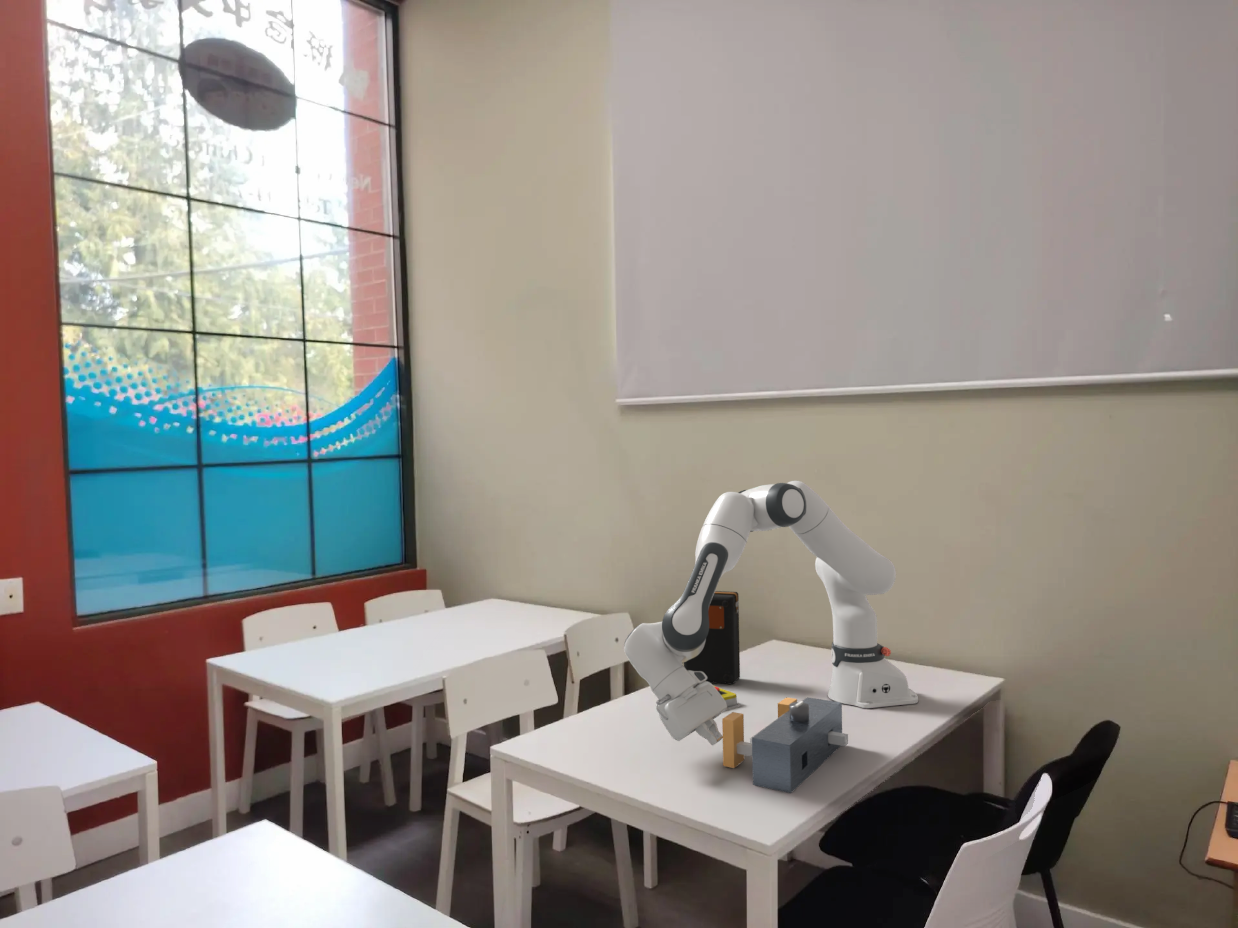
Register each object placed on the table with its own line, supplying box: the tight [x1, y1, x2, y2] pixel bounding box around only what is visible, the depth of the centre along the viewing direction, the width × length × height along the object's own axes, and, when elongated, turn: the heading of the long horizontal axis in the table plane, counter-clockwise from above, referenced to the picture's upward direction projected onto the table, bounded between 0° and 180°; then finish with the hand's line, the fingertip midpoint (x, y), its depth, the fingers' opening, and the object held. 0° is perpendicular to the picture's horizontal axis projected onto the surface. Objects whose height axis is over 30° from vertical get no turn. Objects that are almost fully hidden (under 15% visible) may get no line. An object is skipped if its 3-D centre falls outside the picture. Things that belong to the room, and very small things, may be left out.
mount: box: [749, 697, 843, 794], centre depth 185 cm, size 8×30×10 cm, turn 147°
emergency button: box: [713, 685, 741, 711], centre depth 227 cm, size 9×4×15 cm
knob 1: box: [721, 711, 752, 769], centre depth 181 cm, size 14×5×10 cm, turn 57°
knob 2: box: [777, 696, 849, 747], centre depth 191 cm, size 14×5×10 cm, turn 57°
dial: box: [789, 700, 809, 722], centre depth 184 cm, size 4×4×3 cm
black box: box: [683, 590, 741, 685], centre depth 247 cm, size 16×9×25 cm, turn 71°
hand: (718, 741), depth 187 cm, fingers closed
